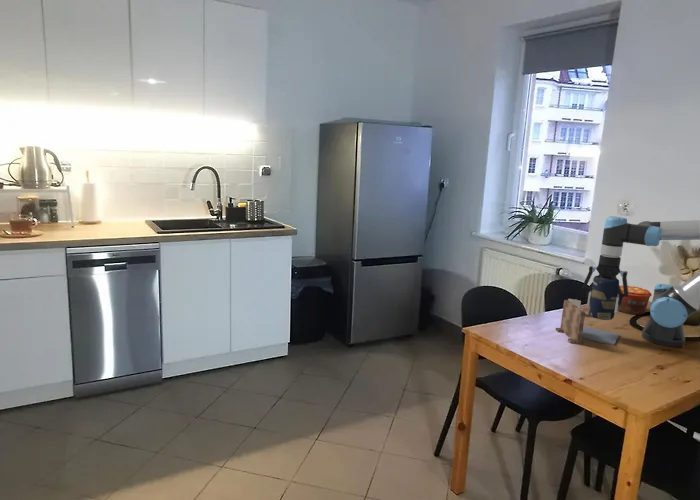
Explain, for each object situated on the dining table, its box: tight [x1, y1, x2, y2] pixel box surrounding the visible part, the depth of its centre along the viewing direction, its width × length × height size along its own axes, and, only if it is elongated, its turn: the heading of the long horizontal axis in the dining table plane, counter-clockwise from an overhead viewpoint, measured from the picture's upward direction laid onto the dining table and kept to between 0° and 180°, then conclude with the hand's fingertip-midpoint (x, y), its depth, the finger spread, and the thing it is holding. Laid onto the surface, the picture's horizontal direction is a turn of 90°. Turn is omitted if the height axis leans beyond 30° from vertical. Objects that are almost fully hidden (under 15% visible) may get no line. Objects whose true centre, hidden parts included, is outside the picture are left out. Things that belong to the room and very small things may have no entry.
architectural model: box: [567, 298, 585, 311], centre depth 236 cm, size 3×7×7 cm, turn 58°
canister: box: [588, 275, 620, 321], centre depth 205 cm, size 10×10×18 cm
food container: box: [617, 284, 653, 316], centre depth 245 cm, size 16×16×11 cm
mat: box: [582, 325, 620, 346], centre depth 208 cm, size 14×14×1 cm
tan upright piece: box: [555, 299, 587, 345], centre depth 205 cm, size 16×6×13 cm, turn 0°
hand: (601, 309), depth 206 cm, fingers closed on canister, 9 cm apart
